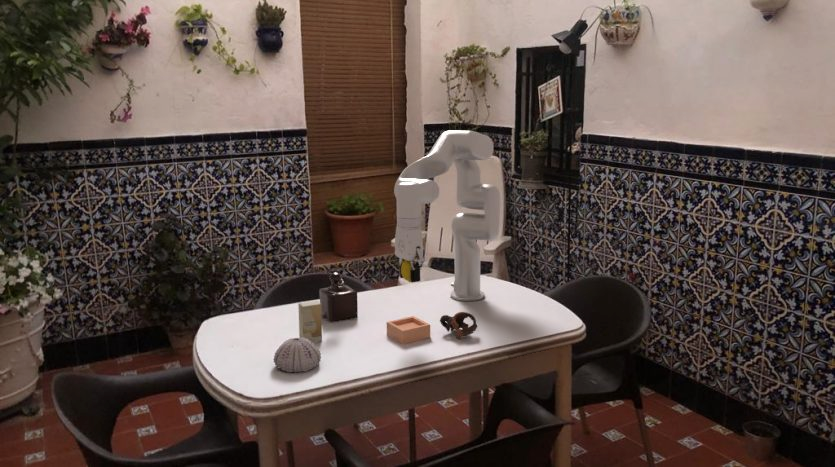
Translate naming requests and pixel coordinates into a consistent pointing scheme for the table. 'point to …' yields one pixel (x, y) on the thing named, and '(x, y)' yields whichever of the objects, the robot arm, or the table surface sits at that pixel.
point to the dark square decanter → (338, 300)
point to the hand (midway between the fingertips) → (410, 278)
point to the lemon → (406, 270)
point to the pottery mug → (459, 324)
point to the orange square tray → (408, 329)
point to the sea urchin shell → (297, 355)
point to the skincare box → (310, 321)
